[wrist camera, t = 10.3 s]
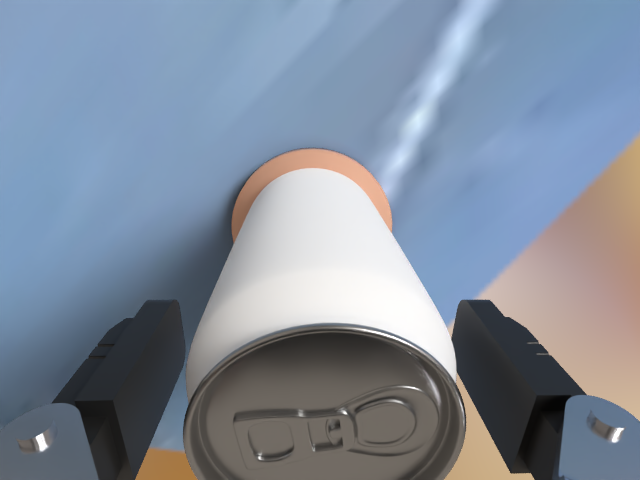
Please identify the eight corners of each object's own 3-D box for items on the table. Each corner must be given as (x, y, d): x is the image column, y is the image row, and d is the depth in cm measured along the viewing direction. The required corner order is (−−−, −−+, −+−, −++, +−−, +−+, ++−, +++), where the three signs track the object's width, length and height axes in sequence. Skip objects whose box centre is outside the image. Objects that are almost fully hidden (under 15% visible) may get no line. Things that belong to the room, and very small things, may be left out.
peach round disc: (229, 146, 18) (225, 148, 17) (395, 149, 18) (399, 151, 17) (239, 293, 21) (236, 301, 20) (381, 293, 21) (384, 300, 20)
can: (380, 278, 20) (481, 525, 9) (260, 294, 20) (205, 560, 9) (372, 156, 17) (499, 280, 6) (234, 175, 17) (110, 331, 6)
